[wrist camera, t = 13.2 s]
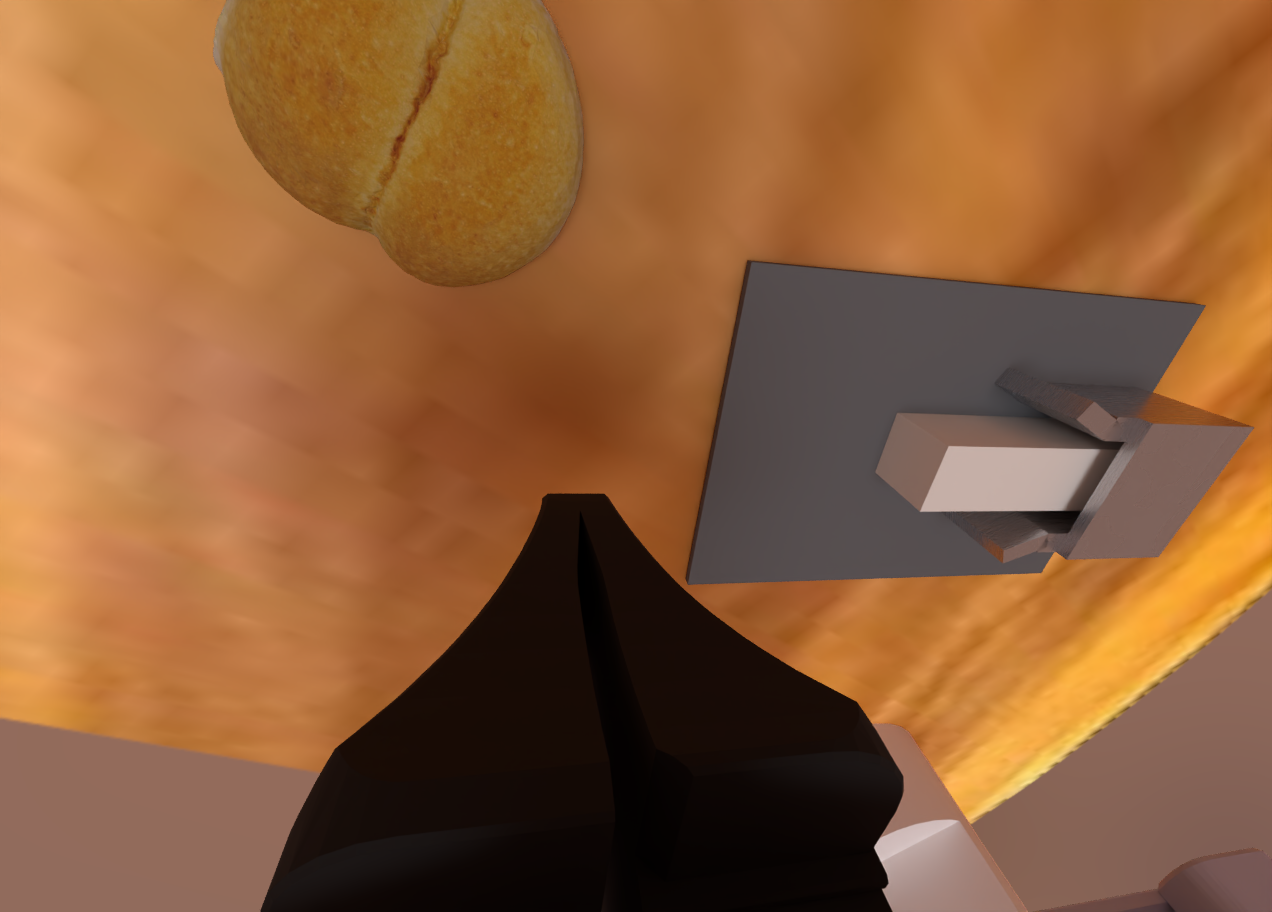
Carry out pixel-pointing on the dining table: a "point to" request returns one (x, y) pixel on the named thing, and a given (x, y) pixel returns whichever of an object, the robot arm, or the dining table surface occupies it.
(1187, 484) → the end cap
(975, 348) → the mat
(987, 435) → the pale grey rectangular bar
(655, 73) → the dining table surface
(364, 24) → the bread roll
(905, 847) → the base with upright slab
